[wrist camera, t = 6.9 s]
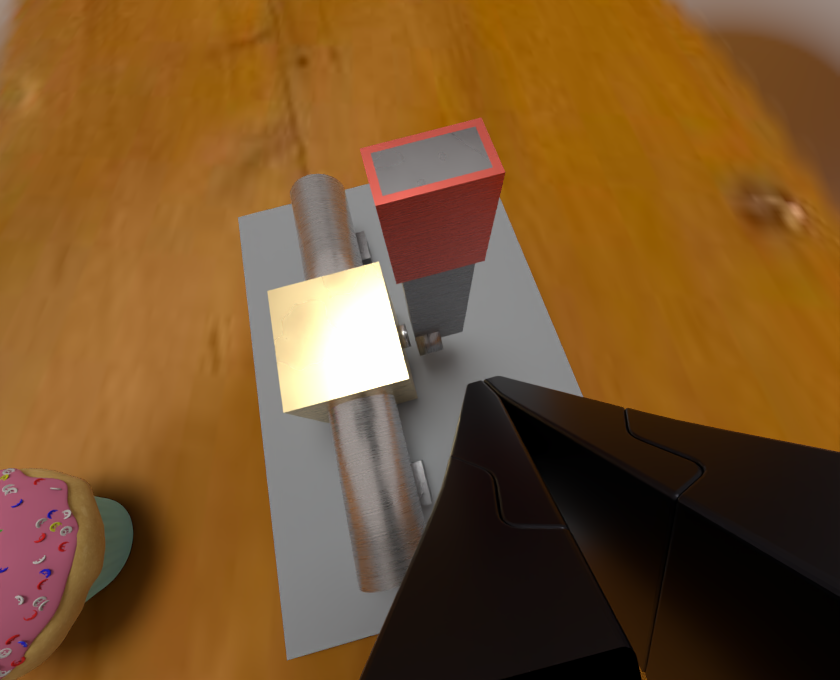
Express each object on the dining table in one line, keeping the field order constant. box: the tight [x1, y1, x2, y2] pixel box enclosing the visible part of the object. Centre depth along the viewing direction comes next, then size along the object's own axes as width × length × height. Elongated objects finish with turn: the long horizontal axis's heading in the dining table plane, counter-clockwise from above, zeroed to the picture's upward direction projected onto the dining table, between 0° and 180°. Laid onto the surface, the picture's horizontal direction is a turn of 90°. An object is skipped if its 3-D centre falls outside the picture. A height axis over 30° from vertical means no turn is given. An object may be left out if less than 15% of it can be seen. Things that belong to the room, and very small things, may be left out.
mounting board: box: [238, 184, 583, 660], centre depth 21 cm, size 26×18×1 cm
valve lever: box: [360, 118, 505, 356], centre depth 13 cm, size 2×3×12 cm
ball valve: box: [267, 174, 433, 593], centre depth 17 cm, size 20×6×6 cm, turn 15°
